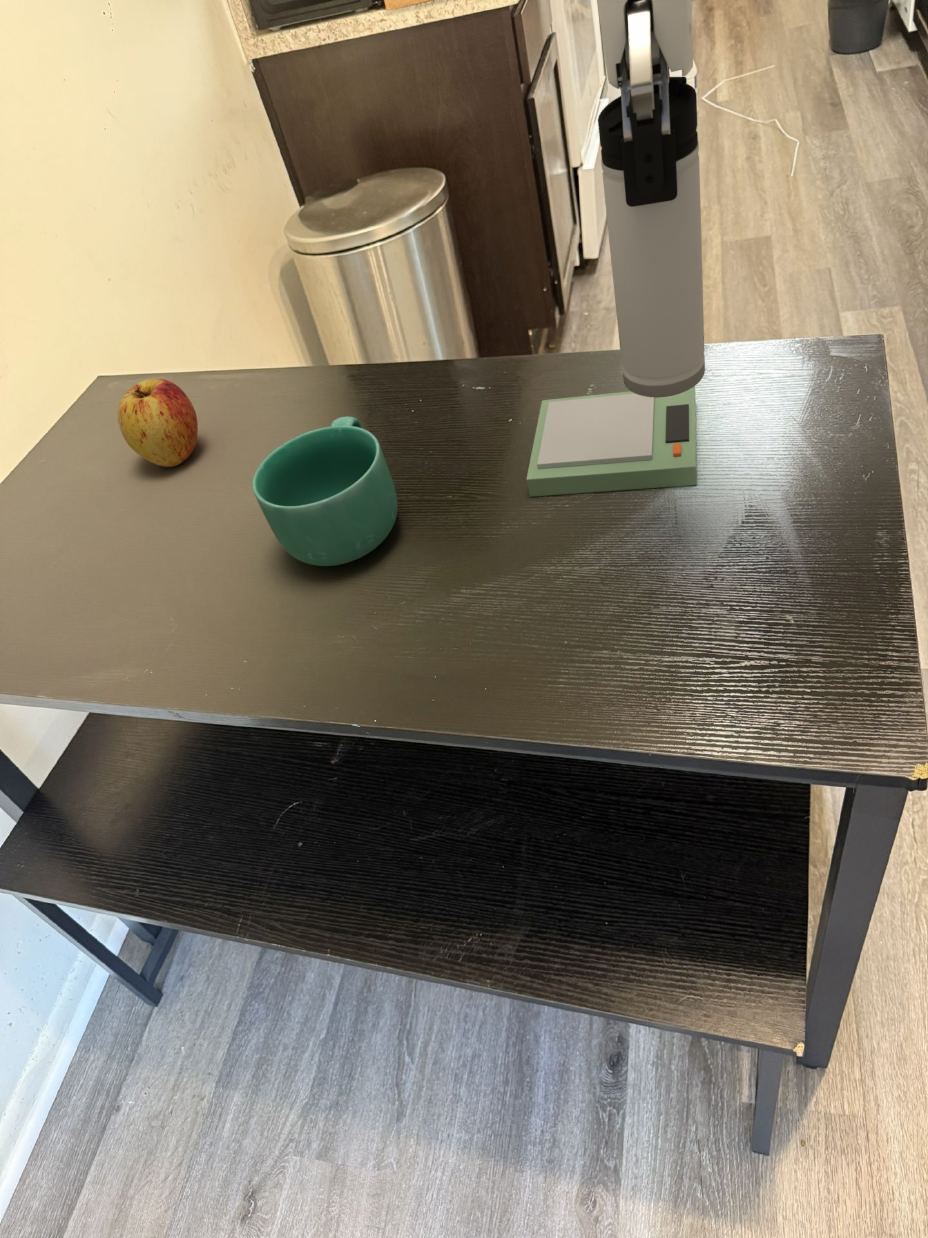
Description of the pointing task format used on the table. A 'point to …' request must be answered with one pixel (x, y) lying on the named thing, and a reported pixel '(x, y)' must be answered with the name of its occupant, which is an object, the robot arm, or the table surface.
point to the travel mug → (657, 258)
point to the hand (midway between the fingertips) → (652, 177)
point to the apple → (158, 422)
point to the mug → (328, 494)
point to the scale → (613, 444)
